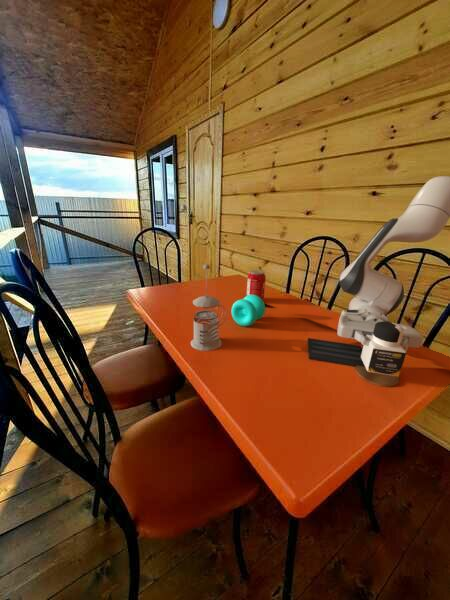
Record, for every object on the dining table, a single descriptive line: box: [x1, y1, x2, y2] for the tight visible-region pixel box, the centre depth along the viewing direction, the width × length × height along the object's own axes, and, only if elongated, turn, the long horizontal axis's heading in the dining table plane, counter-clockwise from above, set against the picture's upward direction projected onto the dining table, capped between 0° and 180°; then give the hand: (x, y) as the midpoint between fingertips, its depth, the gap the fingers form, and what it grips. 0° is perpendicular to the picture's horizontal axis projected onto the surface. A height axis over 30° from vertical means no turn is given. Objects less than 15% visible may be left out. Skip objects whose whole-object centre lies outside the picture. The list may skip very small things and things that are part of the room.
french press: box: [190, 263, 227, 352], centre depth 76 cm, size 10×12×25 cm
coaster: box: [354, 366, 400, 388], centre depth 67 cm, size 10×10×1 cm
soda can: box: [245, 269, 267, 303], centre depth 112 cm, size 8×8×15 cm
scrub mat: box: [307, 337, 365, 368], centre depth 76 cm, size 16×12×1 cm
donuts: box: [230, 295, 266, 327], centre depth 94 cm, size 10×10×10 cm
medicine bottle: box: [361, 321, 407, 377], centre depth 64 cm, size 7×7×12 cm
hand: (384, 345), depth 63 cm, fingers closed on medicine bottle, 7 cm apart
